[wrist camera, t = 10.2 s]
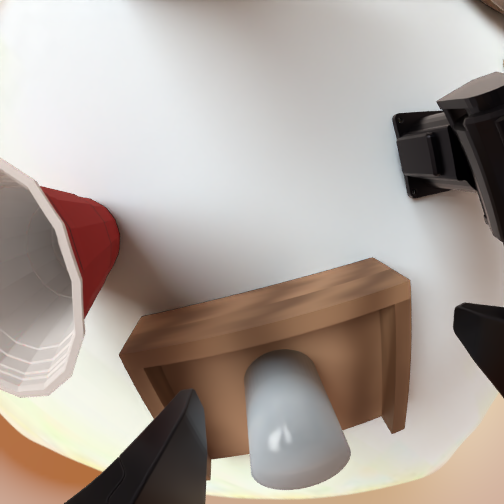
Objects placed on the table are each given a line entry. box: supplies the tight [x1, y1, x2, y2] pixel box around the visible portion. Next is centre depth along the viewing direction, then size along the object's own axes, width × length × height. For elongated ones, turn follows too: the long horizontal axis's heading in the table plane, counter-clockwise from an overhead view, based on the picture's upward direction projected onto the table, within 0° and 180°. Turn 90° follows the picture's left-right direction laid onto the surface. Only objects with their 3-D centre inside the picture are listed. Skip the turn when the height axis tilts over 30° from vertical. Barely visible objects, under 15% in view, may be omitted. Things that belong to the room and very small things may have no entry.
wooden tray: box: [119, 257, 411, 480], centre depth 21 cm, size 18×14×6 cm
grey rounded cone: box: [244, 349, 351, 490], centre depth 16 cm, size 5×5×8 cm
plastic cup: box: [0, 158, 120, 398], centre depth 14 cm, size 11×11×12 cm
